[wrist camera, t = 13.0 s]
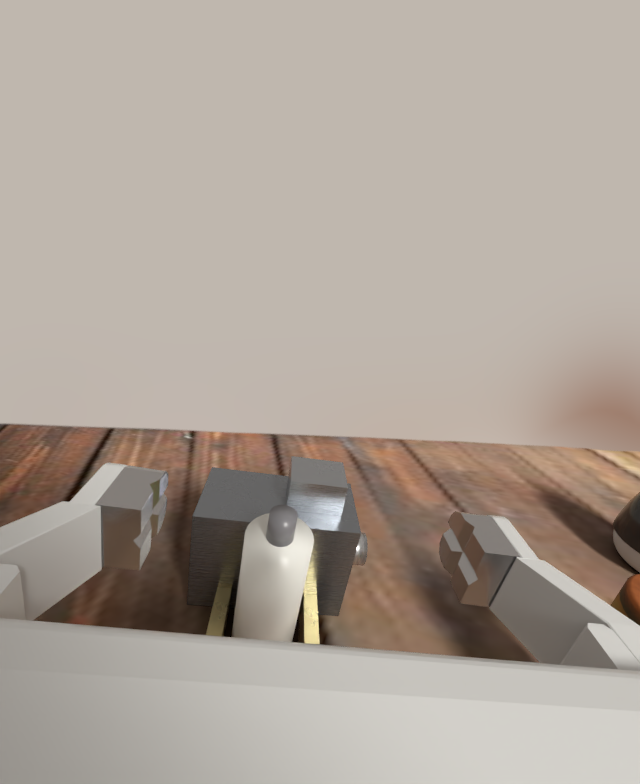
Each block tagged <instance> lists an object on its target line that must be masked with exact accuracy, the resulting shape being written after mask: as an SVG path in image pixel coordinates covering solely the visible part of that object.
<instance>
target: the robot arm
mask: <svg viewBox="0 0 640 784" xmlns="http://www.w3.org/2000/svg"><path fill="white" fill-rule="evenodd" d="M167 485H168V473H167V471H160V470H154V469H148V468H142V467H135V466H127V465H122V464H115V463H106V464H104V465H103V466H102V467H101V468H100V469H99V470H98V471H97V472H96V473H95V474H94V475H93V477H92V478H91V479H90V480H89V481H88V482H87V483H86V484H85V485H84V486H83V488H82V489H81V490H80V491H79V492H78V493H77V494H76V495H75V496H74V497H73V499H72V500H71V501H70V502H64V501H62V502H60V503H58V504H55V505H53V506H50V507H48V508H45V509H43V510H41V511H38V512H36V513H33V514H31V515H29V516H26V517H24V518H21V519H19V520H16V521H14V522H12V523H9V524H7V525H4V526H2V527H0V784H640V626H639V625H638V624H636V623H635V622H633V621H632V620H631V619H629V618H628V617H626V616H625V615H623V614H622V613H620V612H619V611H617V610H616V609H614V608H613V607H612V606H610V605H609V604H607V603H606V602H604V601H603V600H601V599H600V598H598V597H597V596H595V595H594V594H592V593H591V592H590V591H588V590H587V589H585V588H584V587H582V586H581V585H579V584H578V583H576V582H575V581H573V580H572V579H571V578H569V577H568V576H566V575H565V574H563V573H562V572H560V571H559V570H557V569H556V568H554V567H553V566H551V565H550V564H549V563H547V562H546V561H544V560H539V559H538V558H537V556H536V555H535V554H534V552H533V551H532V550H531V549H530V547H529V546H528V545H527V543H526V542H525V541H524V539H523V538H522V537H521V536H520V534H519V533H518V532H517V530H516V529H515V528H514V527H513V525H512V524H511V523H510V521H509V520H508V519H506V518H504V517H500V516H491V515H487V516H486V515H478V514H471V513H463V512H456V511H455V512H454V513H453V514H452V515H451V517H450V519H449V521H448V523H449V526H450V528H451V529H449V530H448V531H447V532H445V533H444V534H443V536H442V538H441V541H440V548H439V554H440V559H441V562H442V564H443V567H444V568H445V569H446V570H447V571H448V572H449V573H450V574H451V575H452V578H451V581H450V582H451V584H452V587H453V589H454V591H455V593H456V595H457V598H458V600H459V602H460V603H462V604H469V605H477V606H484V607H490V608H489V609H490V610H491V611H492V612H493V613H494V614H495V615H496V616H497V618H498V619H499V620H500V621H501V622H502V623H503V624H504V625H505V626H506V627H507V628H508V629H509V630H510V631H511V632H512V633H513V634H514V636H515V637H516V638H517V639H518V640H519V641H520V642H521V643H522V644H523V645H524V646H525V647H526V648H527V649H528V650H529V651H530V652H531V653H532V655H533V656H534V657H535V658H536V659H537V660H538V661H539V662H540V663H535V662H523V661H511V660H498V659H487V658H475V657H463V656H451V655H439V654H428V653H416V652H404V651H392V650H380V649H368V648H356V647H344V646H332V645H320V644H308V643H296V642H284V641H272V640H259V639H247V638H235V637H223V636H211V635H199V634H187V633H175V632H163V631H151V630H139V629H127V628H115V627H103V626H91V625H79V624H67V623H55V622H43V621H33V620H34V619H36V618H37V617H38V616H40V615H41V614H42V613H44V612H45V611H46V610H48V609H49V608H50V607H52V606H53V605H54V604H56V603H57V602H59V601H60V600H61V599H63V598H64V597H65V596H67V595H68V594H69V593H71V592H72V591H73V590H75V589H76V588H77V587H79V586H80V585H81V584H83V583H84V582H85V581H87V580H88V579H90V578H91V577H92V576H94V575H95V574H96V573H98V572H99V571H100V570H102V567H104V568H118V569H131V570H140V568H141V566H142V564H143V562H144V560H145V558H146V556H147V554H148V552H149V550H150V548H151V538H153V537H154V536H156V535H157V534H158V532H159V530H160V528H161V525H162V522H163V519H164V516H165V511H166V505H167V498H166V496H165V495H164V494H163V493H164V491H165V489H166V487H167Z"/></svg>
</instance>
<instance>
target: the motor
mask: <svg viewBox="0 0 640 784" xmlns="http://www.w3.org/2000/svg"><path fill="white" fill-rule="evenodd" d="M277 505H288V506H290V507H292V508H294V509H295V510H296V511H297V514H298V518H299V519H301V520H302V521H304V522H305V523H306V524H307V525H308V526H309V528H310V529H311V531H312V533H313V536H314V545H313V549H312V554H311V558H310V563H309V568H308V572H307V577H306V581H305V586H304V590H303V595H302V599H301V604H300V608H299V643H308V644H319V625H318V614H319V615H332V616H338V615H339V611H340V608H341V604H342V601H343V597H344V593H345V590H346V586H347V583H348V579H349V575H350V572H351V568H352V565H361V566H363V565H364V564H365V562H366V558H367V538H366V534H365V533H361V531H360V526H359V522H358V517H357V513H356V508H355V503H354V499H353V494H352V490H351V485H350V484H347V480H346V475H345V470H344V466H343V463H341V462H333V461H326V460H318V459H310V458H302V457H294V456H292V458H291V464H290V470H289V476H280V475H271V474H263V473H255V472H246V471H238V470H229V469H221V468H213V467H212V469H211V472H210V474H209V477H208V479H207V482H206V484H205V487H204V489H203V491H202V494H201V496H200V499H199V501H198V504H197V506H196V509H195V511H194V514H193V516H192V532H191V548H190V563H189V579H188V595H187V605H200V606H213V608H212V612H211V616H210V620H209V624H208V628H207V632H206V635H211V636H223V637H224V633H225V628H226V623H227V617H228V612H229V608H235V606H236V598H237V590H238V583H239V575H240V567H241V560H242V552H243V544H244V536H245V531H246V528H247V526H248V525H249V524H250V523H251V521H253V520H254V519H255V518H257V517H259V516H261V515H264V514H268V513H270V510H271V509H272V508H273V507H274V506H277Z"/></svg>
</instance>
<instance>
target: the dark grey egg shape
mask: <svg viewBox="0 0 640 784" xmlns="http://www.w3.org/2000/svg"><path fill="white" fill-rule="evenodd" d="M613 527H614V531H613V540H614V544H615V547H616V549H617V551H618V553H619V554H620V556H621V557H622V558H623V559H624V560H625V561H626V562H627V563H628V564H629V565H630V566H631V567H633V568H634V569H635V570H637V571H638V572H640V492H639V493H638V494H637V495H636V496H635V497H633V498H632V499H631V500H630V501H629V502H628V504H627V505H626V506H625V507H624V508H623V509H622V510H621V512H620V513H619V514H618V515H617V517H616V519H615V520H614V522H613Z"/></svg>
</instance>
